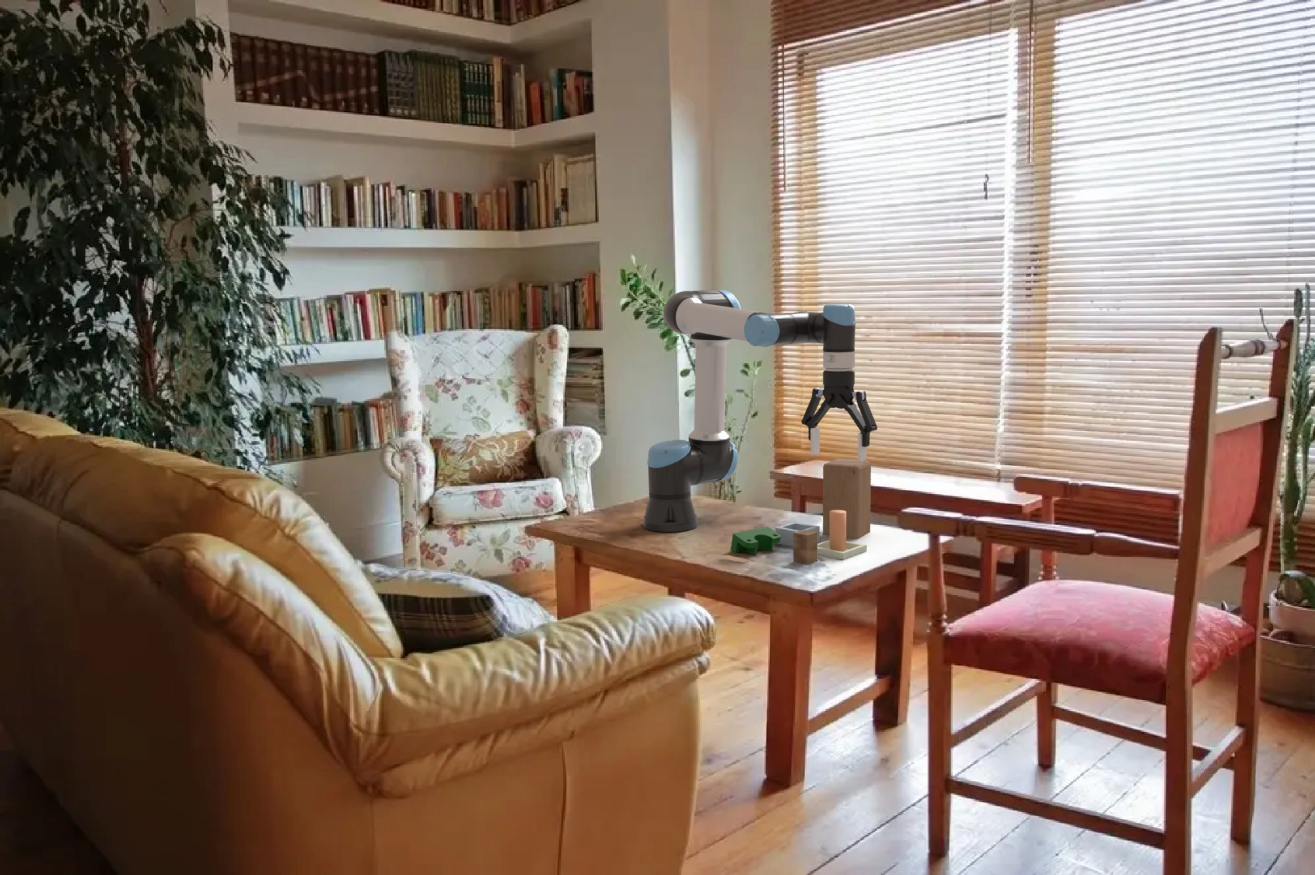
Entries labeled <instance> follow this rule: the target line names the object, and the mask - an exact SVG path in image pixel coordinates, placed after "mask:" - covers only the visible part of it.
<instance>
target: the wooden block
mask: <svg viewBox="0 0 1315 875" xmlns="http://www.w3.org/2000/svg"><path fill="white" fill-rule="evenodd" d="M871 487H872V464H871V461H869V460H867V459H866V460H863V461H858V459H854V458H840V457H839V458H836V459H833V460H831V461H829V462H825V463H824V464H823V466H822V536H825V537H826V536H827V537H830V511H832V510H843V511H846V539H849V540H851V539H852V540H860V539H861V538H863V537H864V536H866V535H868V534H869V533H871V508H872V507H871V506H872V505H871V498H872V497H871V496H872V495H871V493H872V492H871V491H872V490H871V489H872V488H871Z"/></svg>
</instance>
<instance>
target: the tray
mask: <svg viewBox="0 0 1315 875" xmlns="http://www.w3.org/2000/svg"><path fill="white" fill-rule="evenodd" d="M867 547H868V545H867V544H863V543H859V542H853V541H847V540H846V551H843V552H841V551H836V550H831V549H830V539H827V540H824V541H820V542H818V543H817V556H818V555H819V556H825V557H829V558H834V559H839V560H846V559H847V560H848V559H849V558H852V557H855V556H857V555H860V554H863V553H866V552H867V551H868V548H867Z"/></svg>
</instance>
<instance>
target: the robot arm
mask: <svg viewBox="0 0 1315 875" xmlns="http://www.w3.org/2000/svg"><path fill="white" fill-rule="evenodd" d="M855 309H856V308H855V306H854V305H853V304H850V303H843V304H840V303H838V304H837V303H835V304H834V303H832V304H824V306H823V308H822V312H817V311H814V312H813V311H795V312H785V313H768V312H763V311H762V312H761V311H755V310H748V309H743V308H742V307H741V303H740V302H739V300H738V299H737V298H736V296H735V295H734V294H733V293H732V292H730V291H728V290H724V289H723V290H721V289H705V290H704V289H703V290H683V291H679V292H676V293H674V294H673V295H671V296H670V297H669V298H668V299H667V300H666V302H665V304H664V307H663V312H662V313H663V314H662V315H663V319H664V322H665V325H666V326H667V327H668V328H669V330H671V331H673V333H677V334H682V335H690V337H689V338H690V341H692V343H693V344H695V358H694V360H695V362H694V363H695V366H694V367H695V371H694V420H693V421H694V422H693V430H692V431H691V432H690V433H689V434H688V441H687V440H685V439H673V440H666V441H660V442H657V443H655V444H652V446H651V447H649V450H648V452H647V455H648V456H647V466H648V468H647V470H648V473H647V474H648V500H647V501H648V502H647V505H646V508H645V514H644V515H643V520H642V521H643V522H642V523H643V525H642V526H643V528H644V529H646V530H649V531H653V532H660V533H661V532H662V533H673V532H674V533H676V532H677V533H678V532H686V531H691V530H694V529H695V528H697V527H698V524H699V523H698V516H697V514H696V512H695V508H694V504H693V500H692V497H691V496H692V494H691V493H692V492H691V491H692V490H691V489H692V488H691V486H697V485H698V486H699V485H702V484H703V485H705V484H710V483H712V484H713V483H718V482H721V481H725V480H727V479H729V478H730V477H731V476H733V474H734V472H735V471H736V469H737V466H738V463H739V453H738V450H737V449H736V445H735V443H734V442H732V441H731V439H730V434H729V433H728V432H727V431H726V430H725V426H726V424H725V423H726V384H727V350H728V349H727V346H728V345H729V344H730V343H731V341H733V340H738V341H744V342H748V343H749V344H750V345H751V346H753V347H763V348H765V347H771V346H782V345H797V344H822V361H823V362H822V368H824V369H825V370H823V371H822V384H823V388H822V387H815V388H813V389H812V391H811V392H812V393H811V397H810V400H809V403H808V405H807V408H806V409H805V412H804V414H803V417H802V418H801V423H800V424H801V425H805V426H806V427H807V428H808V430H807V431H808V432H807V434H808V435H807V436H808V441H810V455H811V456H814V455H818V454H819V455H820V454H821V453H820V452H821V449H820V448H821V447H820V443H821V442H820V439H821V434H820V433H821V431H820V430H821V429H820V427H819V424H820V422H821V421H822V420H823V419H824V417H825V416H826V414H827V413H828V411H829V410H830V409H839V410H840V409H841V410H843V409H844V411H846V412H847V413H848V414H849V416H850V418H851V419H852V421H853V422H854V424H855V425H856V427H857V428H858V429H859V431H860V432H859V433H857V460H858V461H863V460H867V459H868V454H867V453H868V447H870V444H871V442H870V441H871V439H870V438H871V437H870V435H871V432H875V431H877V430H878V425H877V423H876V419H875V418H874V415H873V413H872V410H871V408H870V405H869V403H868V400H867V393H866V391H865V390H859V391H855V389H854V387H855V384H856V383H855V380H856V372H855V370H854V368H856V349H855V347H856V324H857V321H856V310H855ZM822 398H824V400H823V402H822V403H821V404H820V402H821V399H822ZM854 400H855V401H856V403H855V401H854ZM819 404H820V407H819ZM817 408H818V409H817Z"/></svg>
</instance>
